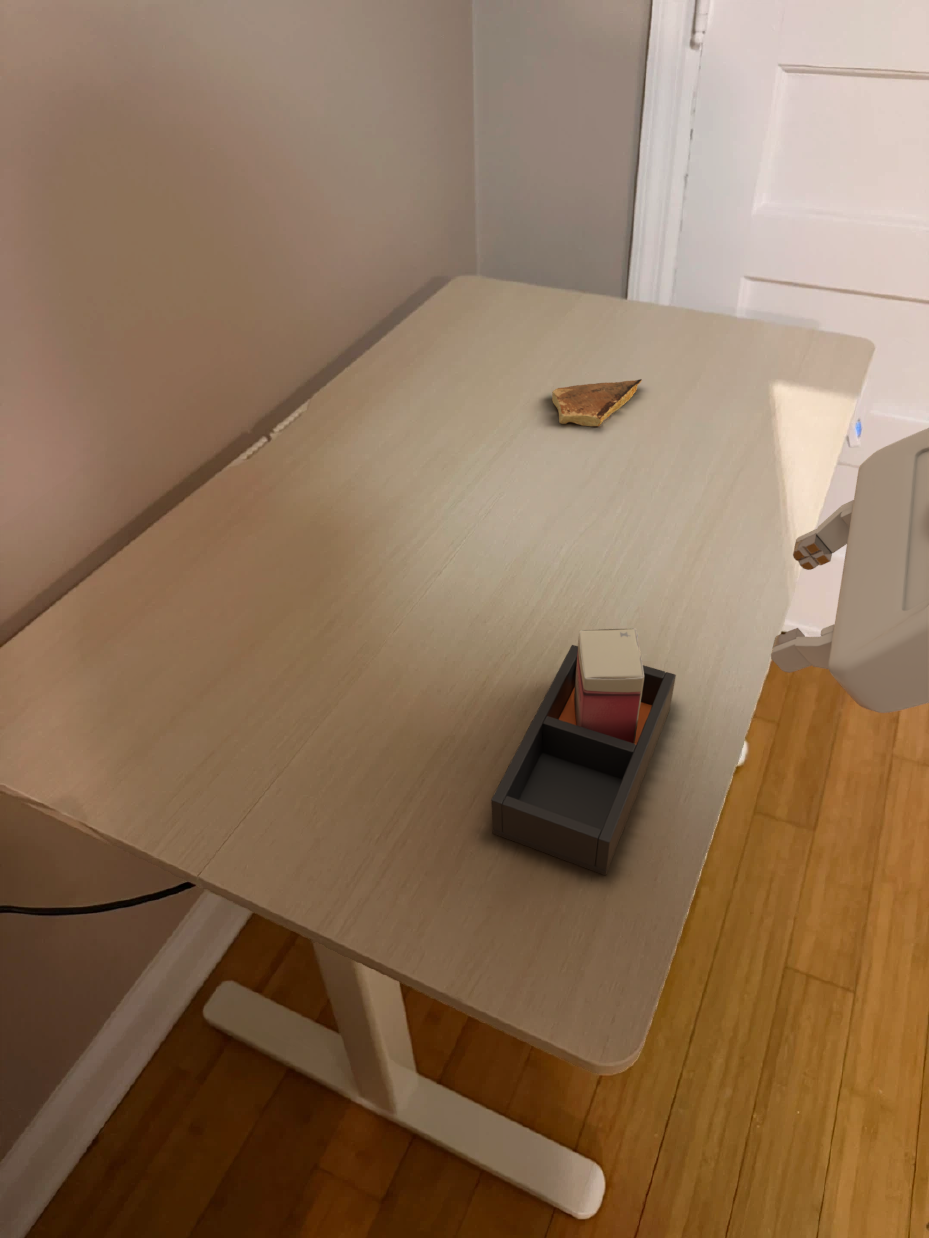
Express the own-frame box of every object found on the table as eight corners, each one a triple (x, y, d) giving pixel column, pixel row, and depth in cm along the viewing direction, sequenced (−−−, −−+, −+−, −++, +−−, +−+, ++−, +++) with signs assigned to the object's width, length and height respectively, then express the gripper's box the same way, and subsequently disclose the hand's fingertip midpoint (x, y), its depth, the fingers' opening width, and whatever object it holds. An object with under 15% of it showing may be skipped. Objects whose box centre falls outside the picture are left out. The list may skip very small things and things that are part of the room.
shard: (640, 390, 106) (642, 376, 105) (657, 424, 101) (659, 410, 100) (550, 398, 106) (551, 385, 105) (562, 433, 100) (563, 419, 99)
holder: (670, 709, 71) (676, 674, 68) (605, 875, 60) (609, 842, 57) (570, 678, 73) (571, 644, 70) (492, 833, 63) (490, 799, 60)
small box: (573, 698, 71) (577, 627, 65) (627, 697, 71) (636, 625, 65) (578, 749, 67) (583, 678, 62) (635, 747, 67) (645, 676, 61)
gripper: (993, 361, 51) (782, 472, 61) (999, 592, 38) (728, 686, 47) (1049, 441, 53) (835, 536, 62) (1073, 687, 39) (798, 759, 49)
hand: (789, 603), depth 55 cm, fingers open, 8 cm apart
